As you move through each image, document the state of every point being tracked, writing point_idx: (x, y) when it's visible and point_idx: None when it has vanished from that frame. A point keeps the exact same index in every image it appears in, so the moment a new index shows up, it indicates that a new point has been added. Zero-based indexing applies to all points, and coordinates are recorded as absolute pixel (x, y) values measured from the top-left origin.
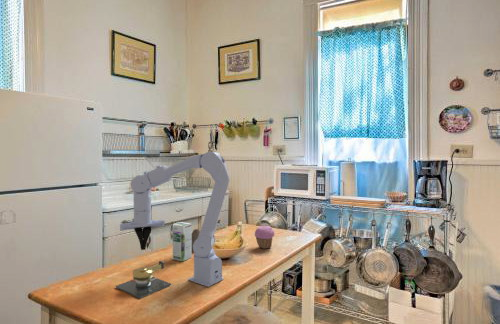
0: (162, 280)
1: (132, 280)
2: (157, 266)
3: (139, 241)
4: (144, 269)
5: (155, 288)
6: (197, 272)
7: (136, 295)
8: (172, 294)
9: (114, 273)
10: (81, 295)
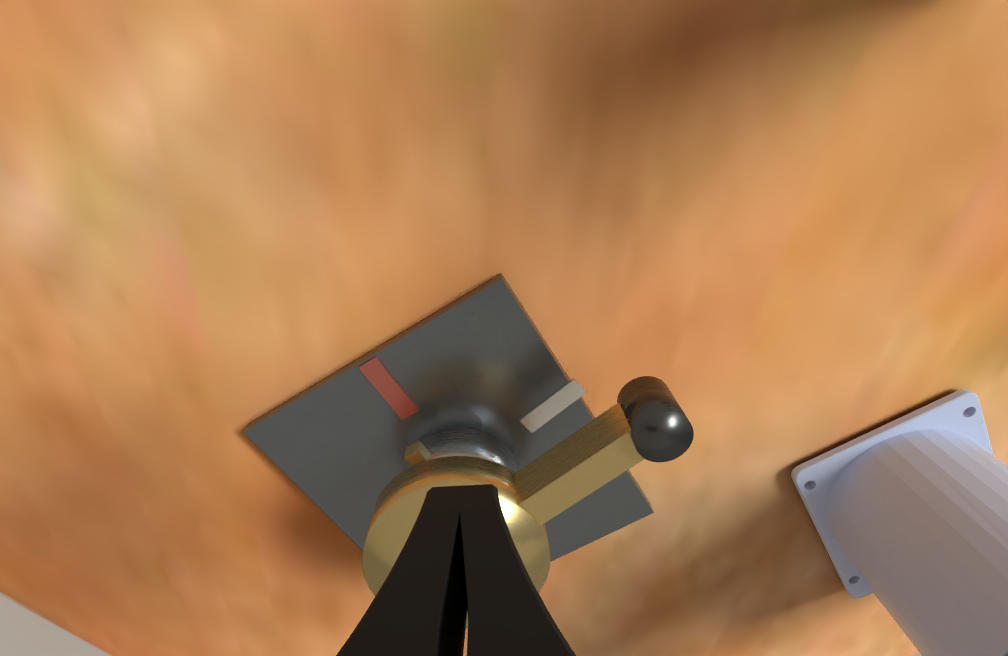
0: None
1: (374, 378)
2: (602, 476)
3: (391, 580)
4: None
5: None
6: (872, 586)
7: None
8: (620, 608)
9: (161, 61)
10: (19, 465)
